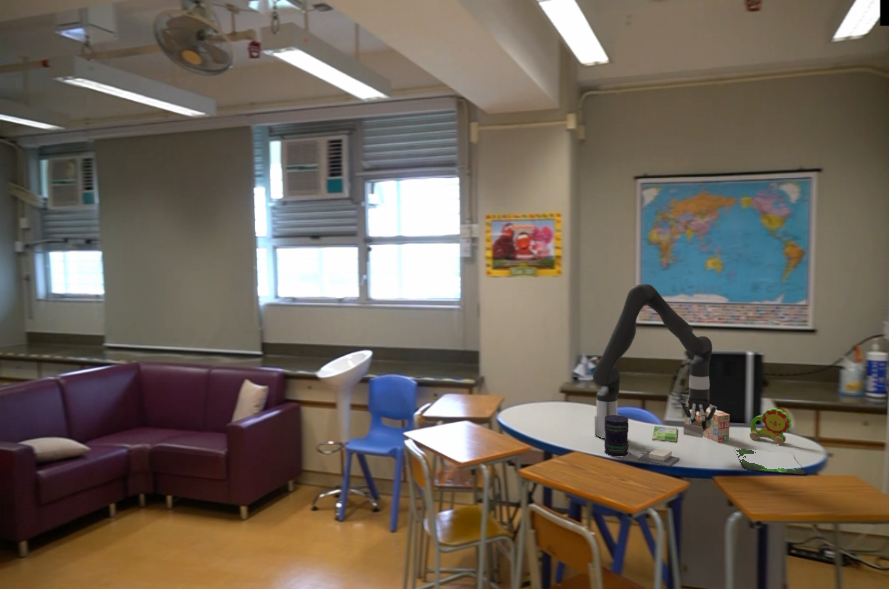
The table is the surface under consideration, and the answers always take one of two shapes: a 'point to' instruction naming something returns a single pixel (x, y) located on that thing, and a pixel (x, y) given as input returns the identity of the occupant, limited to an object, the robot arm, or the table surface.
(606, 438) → the storage jar
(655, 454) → the tile
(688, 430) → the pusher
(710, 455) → the table surface
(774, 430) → the toy lion
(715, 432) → the stack of blocks
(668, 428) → the green number board
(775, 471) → the mouse mat
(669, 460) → the mat
